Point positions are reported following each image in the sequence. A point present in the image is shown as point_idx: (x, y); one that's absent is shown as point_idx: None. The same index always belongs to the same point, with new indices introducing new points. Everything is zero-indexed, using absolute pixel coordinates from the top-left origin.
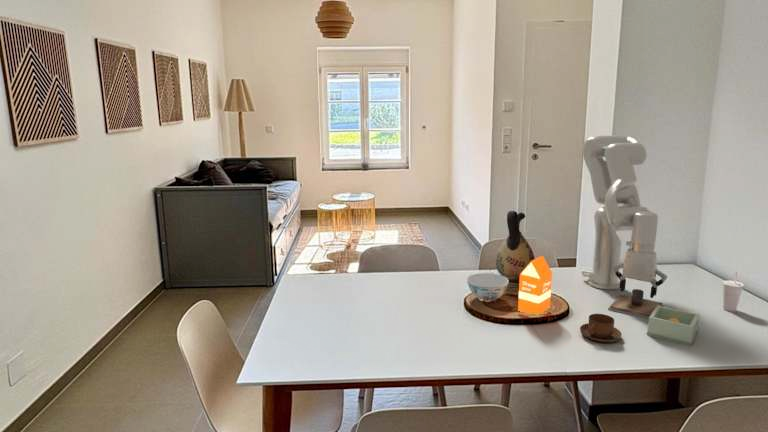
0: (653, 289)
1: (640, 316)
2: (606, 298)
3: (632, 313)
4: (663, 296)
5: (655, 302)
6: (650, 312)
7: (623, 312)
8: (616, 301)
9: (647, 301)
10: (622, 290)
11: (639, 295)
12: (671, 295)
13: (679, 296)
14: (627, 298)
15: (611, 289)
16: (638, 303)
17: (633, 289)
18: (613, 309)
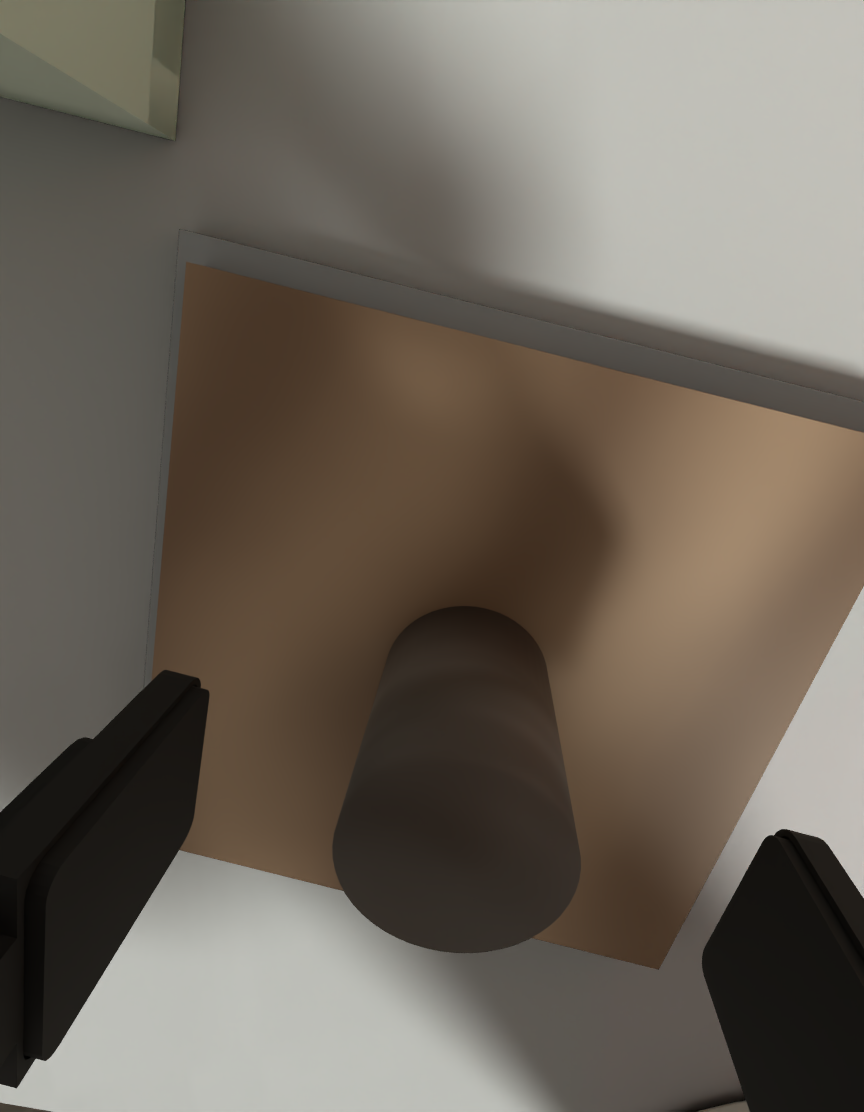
0: (26, 834)
1: (411, 287)
2: (844, 855)
3: (539, 326)
4: (189, 1054)
5: (222, 823)
6: (252, 398)
7: (681, 356)
8: (772, 694)
9: (320, 827)
10: (792, 853)
11: (423, 722)
12: (123, 1090)
13: (54, 1083)
14: (584, 854)
15: (732, 1103)
16: (440, 629)
17: (550, 919)
18: (851, 401)
